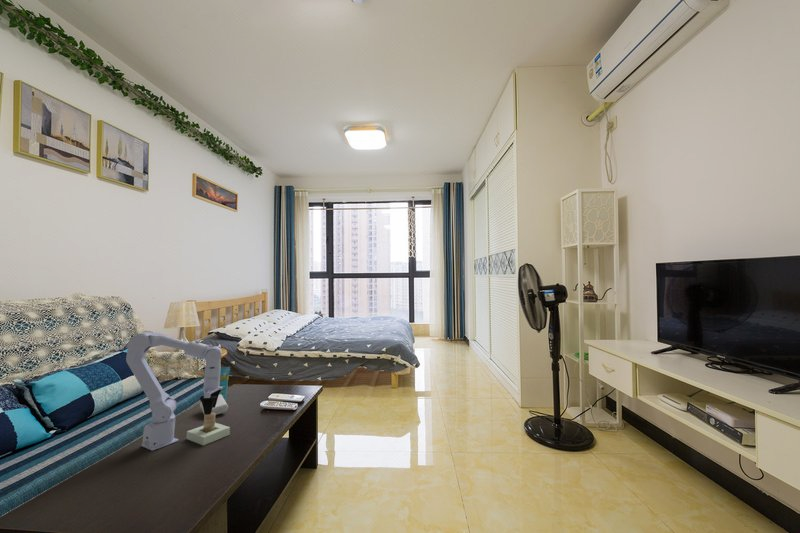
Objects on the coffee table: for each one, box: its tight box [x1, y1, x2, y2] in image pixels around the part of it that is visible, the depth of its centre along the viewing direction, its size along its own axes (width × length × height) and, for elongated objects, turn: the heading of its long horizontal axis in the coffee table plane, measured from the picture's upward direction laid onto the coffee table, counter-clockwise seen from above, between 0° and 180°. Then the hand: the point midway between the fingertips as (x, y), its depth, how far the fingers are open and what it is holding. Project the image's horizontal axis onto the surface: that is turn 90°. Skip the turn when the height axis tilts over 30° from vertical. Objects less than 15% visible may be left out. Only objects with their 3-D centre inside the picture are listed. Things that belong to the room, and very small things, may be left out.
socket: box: [186, 422, 231, 446], centre depth 134 cm, size 11×11×3 cm
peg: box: [203, 412, 216, 433], centre depth 134 cm, size 4×4×9 cm
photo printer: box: [199, 394, 229, 416], centre depth 159 cm, size 10×4×12 cm
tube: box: [219, 366, 231, 401], centre depth 169 cm, size 7×5×19 cm, turn 124°
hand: (210, 410), depth 134 cm, fingers open, 7 cm apart
